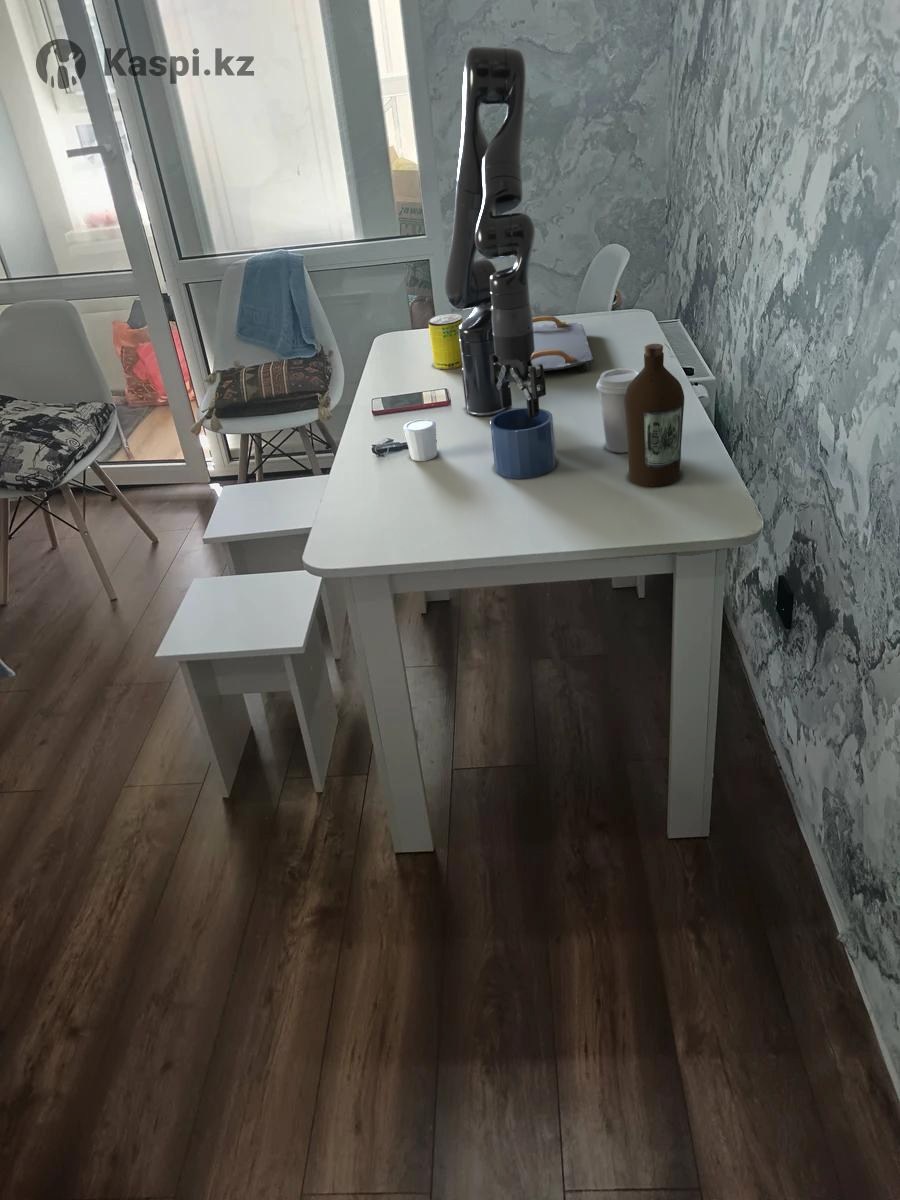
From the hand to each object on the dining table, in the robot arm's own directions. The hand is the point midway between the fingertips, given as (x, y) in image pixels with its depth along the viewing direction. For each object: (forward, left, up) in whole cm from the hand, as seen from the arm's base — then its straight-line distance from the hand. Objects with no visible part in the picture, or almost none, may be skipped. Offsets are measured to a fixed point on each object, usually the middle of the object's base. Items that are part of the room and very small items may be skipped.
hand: (519, 411), depth 178 cm
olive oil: (+23, +13, -12) cm, 29 cm away
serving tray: (-51, +47, -12) cm, 70 cm away
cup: (0, 0, -12) cm, 12 cm away
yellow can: (-68, +28, -12) cm, 74 cm away
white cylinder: (-21, -11, -12) cm, 26 cm away
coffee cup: (+8, +19, -12) cm, 24 cm away
